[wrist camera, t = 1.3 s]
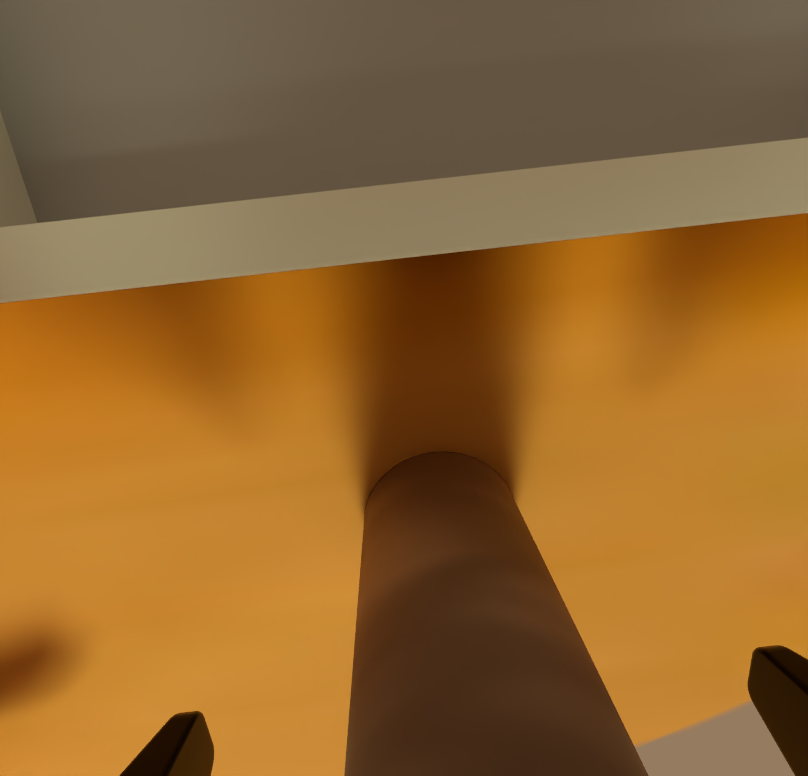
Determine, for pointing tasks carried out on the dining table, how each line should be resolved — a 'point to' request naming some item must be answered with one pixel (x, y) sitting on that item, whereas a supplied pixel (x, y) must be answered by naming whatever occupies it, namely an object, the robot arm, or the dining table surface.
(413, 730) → the walnut peg
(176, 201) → the open bin
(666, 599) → the dining table surface
